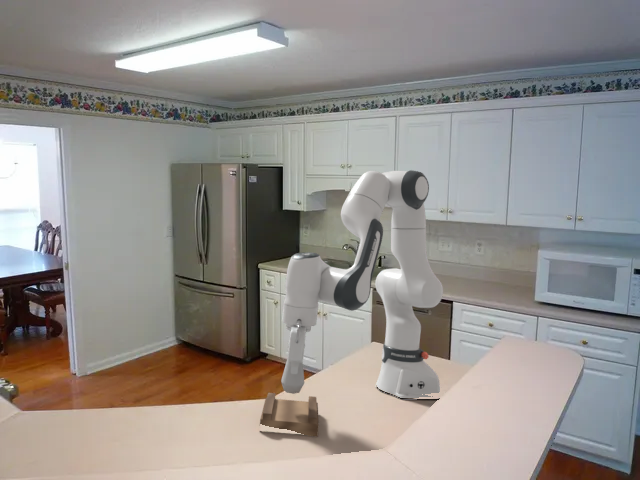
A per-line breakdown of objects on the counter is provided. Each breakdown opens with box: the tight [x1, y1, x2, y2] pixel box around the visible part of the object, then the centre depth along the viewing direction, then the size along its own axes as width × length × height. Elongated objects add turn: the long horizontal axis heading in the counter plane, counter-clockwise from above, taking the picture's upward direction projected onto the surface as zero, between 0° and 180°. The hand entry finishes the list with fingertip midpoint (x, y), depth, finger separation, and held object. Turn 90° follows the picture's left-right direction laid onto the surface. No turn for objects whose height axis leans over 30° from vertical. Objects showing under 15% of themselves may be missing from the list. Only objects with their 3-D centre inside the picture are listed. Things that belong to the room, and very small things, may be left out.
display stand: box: [259, 392, 320, 438], centre depth 118 cm, size 14×14×4 cm
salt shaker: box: [280, 341, 306, 395], centre depth 118 cm, size 6×6×13 cm
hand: (294, 370), depth 118 cm, fingers closed on salt shaker, 3 cm apart
